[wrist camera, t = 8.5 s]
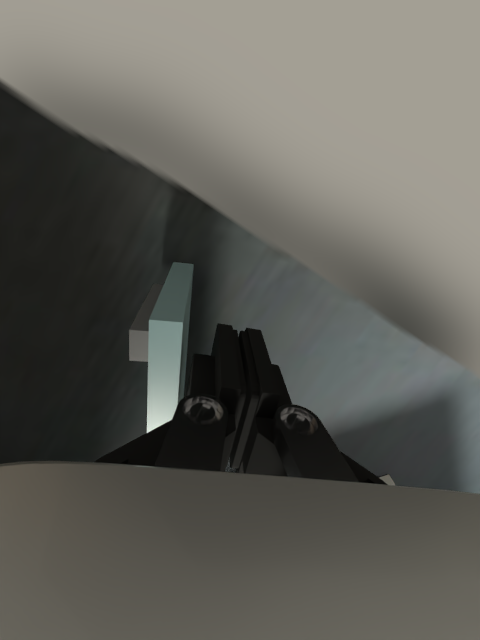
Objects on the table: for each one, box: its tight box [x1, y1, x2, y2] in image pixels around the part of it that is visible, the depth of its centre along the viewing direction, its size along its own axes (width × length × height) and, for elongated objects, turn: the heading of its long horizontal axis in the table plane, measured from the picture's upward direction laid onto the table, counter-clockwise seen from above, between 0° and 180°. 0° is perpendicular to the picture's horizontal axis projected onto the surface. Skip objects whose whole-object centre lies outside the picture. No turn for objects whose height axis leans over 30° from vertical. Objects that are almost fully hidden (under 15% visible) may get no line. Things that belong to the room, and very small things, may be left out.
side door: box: [129, 262, 194, 433], centre depth 17 cm, size 24×2×7 cm, turn 172°
